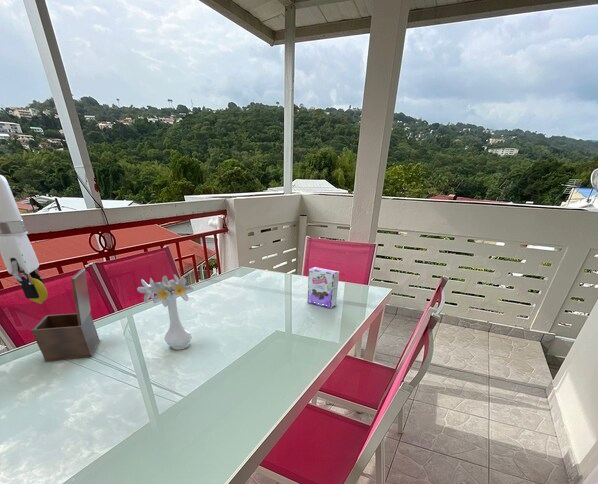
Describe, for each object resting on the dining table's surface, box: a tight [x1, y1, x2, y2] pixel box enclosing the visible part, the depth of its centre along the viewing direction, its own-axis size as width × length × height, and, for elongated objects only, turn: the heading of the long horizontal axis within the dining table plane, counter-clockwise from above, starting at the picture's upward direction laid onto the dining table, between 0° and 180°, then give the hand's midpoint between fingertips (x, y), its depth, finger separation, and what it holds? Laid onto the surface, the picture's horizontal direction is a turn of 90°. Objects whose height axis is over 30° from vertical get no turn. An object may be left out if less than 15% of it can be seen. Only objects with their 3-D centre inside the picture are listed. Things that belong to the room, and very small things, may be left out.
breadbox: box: [31, 312, 100, 362], centre depth 113 cm, size 14×14×11 cm
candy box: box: [307, 266, 340, 309], centre depth 160 cm, size 14×6×16 cm, turn 55°
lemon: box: [29, 277, 49, 305], centre depth 99 cm, size 6×6×8 cm
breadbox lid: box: [70, 267, 92, 325], centre depth 108 cm, size 15×14×1 cm
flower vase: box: [136, 273, 194, 351], centre depth 114 cm, size 13×18×25 cm
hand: (36, 294), depth 100 cm, fingers closed on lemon, 5 cm apart
